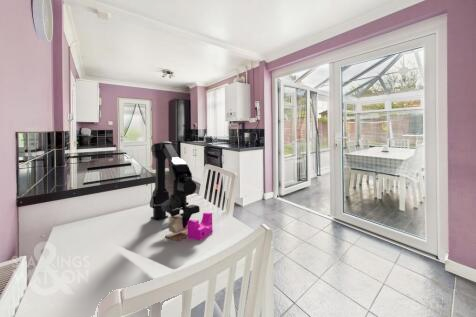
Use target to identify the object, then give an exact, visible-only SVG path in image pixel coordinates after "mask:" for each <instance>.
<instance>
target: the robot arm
mask: <svg viewBox="0 0 476 317" xmlns="http://www.w3.org/2000/svg"><path fill="white" fill-rule="evenodd" d="M150 151H151V153H152V156H153V158H154V160H155V188H154V190H153V192H152V193H151V194H152V195H151V198H150V201H149V207H150V208H151V209H152V212H153V213H152V214H153V216H150V219H153V220H156V221H157V220H162V219H166V218H169V216H168V215H167V213H168V214H169V215H170V217H171V216H174V215H178V214H180V215H181V216H182V222H183V228H186V226H187V221H189V220H191V218H192V215H196V214H198V213H200V211H201V209H200V208H201V207H200V206H199V205H196V204H189V202H188V201H187V197H188V196H191V195H192V194H195V192H196V190H197V184H196V181H194V180H193V174H192V170H190V167H189V165H188V163H187V162H186V161H185V160H184V159H182V158H180V156H179V155H178V153H177V151H176V150H175V148H174V146H173V143H172V142H171V141H161V142H158V143H157V142H155V143H153V144H152V145H151V150H150ZM166 160H167V161H168V163H169V167H168V170H169V174H170V176H171V181H172V193H171V194H169V190H167V188H166ZM181 211H182V212H181ZM180 212H181V213H180Z"/></svg>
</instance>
